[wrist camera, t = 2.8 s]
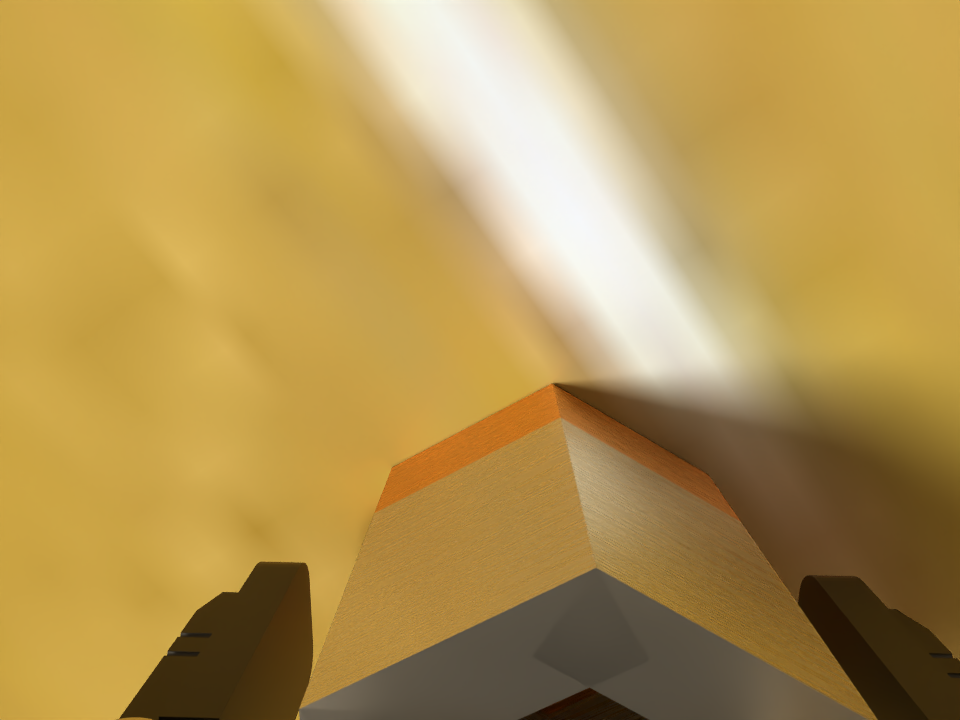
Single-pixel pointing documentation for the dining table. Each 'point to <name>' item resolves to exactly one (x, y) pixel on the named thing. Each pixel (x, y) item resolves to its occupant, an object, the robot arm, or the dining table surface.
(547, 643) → the sleeve
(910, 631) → the robot arm
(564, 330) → the dining table surface
